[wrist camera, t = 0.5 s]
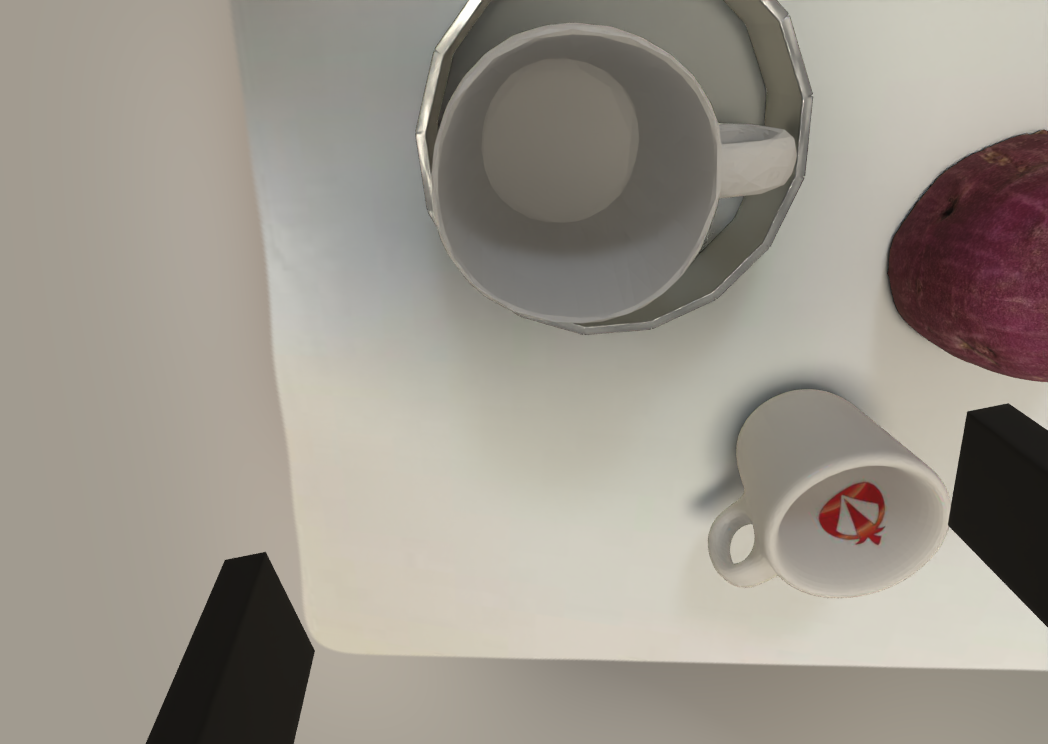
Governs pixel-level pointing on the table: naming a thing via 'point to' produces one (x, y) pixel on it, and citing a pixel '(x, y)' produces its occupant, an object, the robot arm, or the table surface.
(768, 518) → the cup
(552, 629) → the table surface
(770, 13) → the ring
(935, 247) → the vegetable
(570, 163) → the mug
